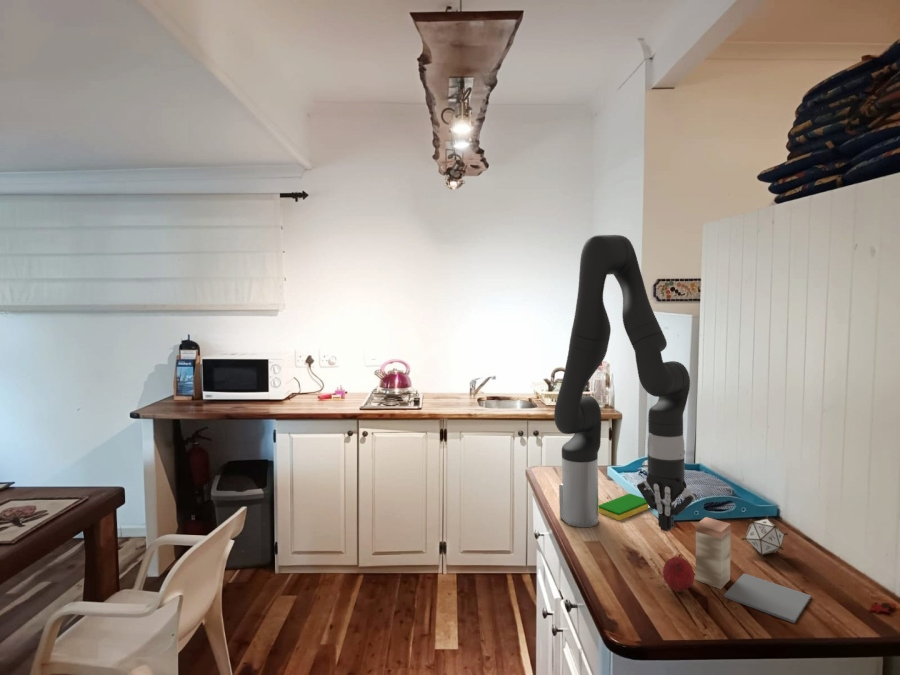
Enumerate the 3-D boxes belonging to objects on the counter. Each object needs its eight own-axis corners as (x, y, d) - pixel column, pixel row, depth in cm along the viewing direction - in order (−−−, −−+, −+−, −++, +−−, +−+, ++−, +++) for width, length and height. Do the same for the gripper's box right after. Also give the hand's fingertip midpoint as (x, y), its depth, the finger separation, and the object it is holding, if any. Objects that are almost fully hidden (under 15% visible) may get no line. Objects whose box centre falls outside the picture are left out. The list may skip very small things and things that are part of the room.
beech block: (695, 579, 111) (695, 524, 110) (705, 570, 114) (705, 516, 113) (720, 589, 107) (721, 531, 106) (730, 579, 111) (730, 523, 110)
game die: (773, 572, 120) (800, 550, 113) (735, 556, 121) (759, 534, 114) (769, 538, 126) (793, 515, 120) (733, 524, 128) (755, 501, 121)
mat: (723, 597, 104) (723, 594, 104) (743, 575, 112) (743, 573, 112) (794, 623, 96) (794, 620, 96) (810, 597, 103) (810, 595, 103)
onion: (691, 603, 103) (692, 563, 102) (660, 595, 106) (660, 556, 105) (696, 588, 108) (696, 550, 107) (665, 581, 111) (665, 544, 110)
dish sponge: (597, 513, 146) (597, 505, 146) (629, 501, 154) (629, 492, 154) (619, 522, 140) (618, 513, 140) (651, 508, 148) (651, 500, 148)
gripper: (628, 451, 118) (629, 526, 120) (688, 463, 109) (689, 545, 110) (645, 444, 123) (645, 516, 125) (703, 455, 114) (703, 533, 115)
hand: (666, 529), depth 117 cm, fingers closed
